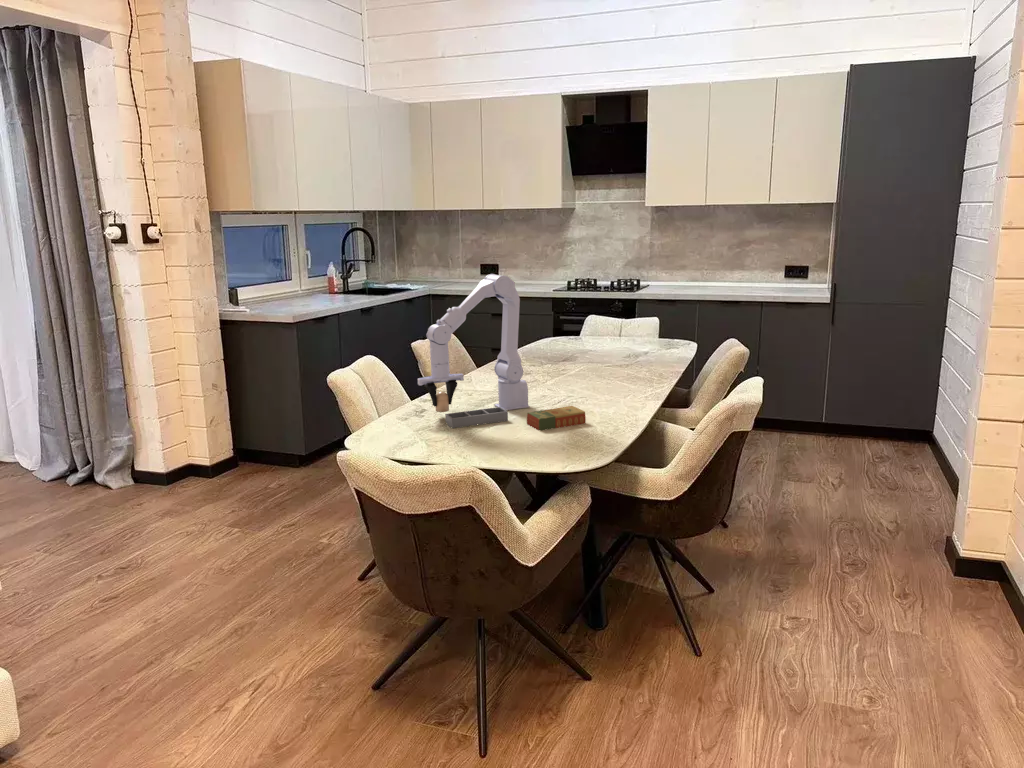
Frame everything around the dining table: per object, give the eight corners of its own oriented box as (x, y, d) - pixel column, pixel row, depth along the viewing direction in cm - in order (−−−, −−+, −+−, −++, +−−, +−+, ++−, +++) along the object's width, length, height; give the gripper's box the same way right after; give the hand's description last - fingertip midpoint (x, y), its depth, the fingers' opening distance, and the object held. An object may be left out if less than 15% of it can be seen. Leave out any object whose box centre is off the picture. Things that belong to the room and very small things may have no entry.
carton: (585, 424, 228) (586, 411, 227) (538, 432, 221) (538, 418, 220) (572, 418, 235) (572, 404, 234) (526, 425, 228) (526, 411, 227)
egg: (446, 408, 240) (445, 389, 239) (450, 411, 236) (449, 392, 235) (434, 409, 238) (433, 391, 237) (438, 412, 235) (437, 393, 233)
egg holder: (500, 415, 238) (500, 406, 237) (507, 420, 232) (507, 411, 232) (445, 423, 231) (445, 413, 231) (452, 428, 226) (451, 418, 225)
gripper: (421, 367, 228) (423, 410, 231) (466, 362, 233) (467, 404, 236) (414, 363, 234) (417, 405, 237) (458, 358, 239) (460, 399, 242)
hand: (442, 404), depth 237 cm, fingers closed on egg, 4 cm apart
